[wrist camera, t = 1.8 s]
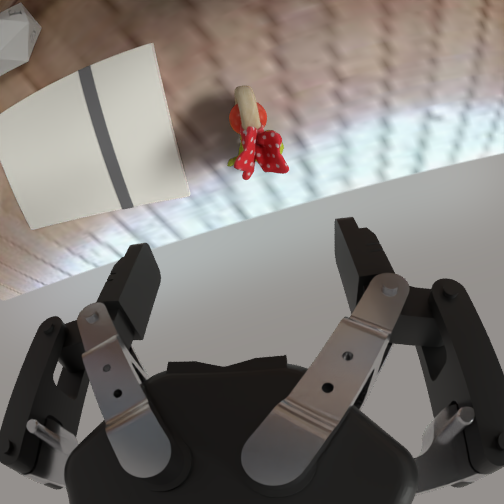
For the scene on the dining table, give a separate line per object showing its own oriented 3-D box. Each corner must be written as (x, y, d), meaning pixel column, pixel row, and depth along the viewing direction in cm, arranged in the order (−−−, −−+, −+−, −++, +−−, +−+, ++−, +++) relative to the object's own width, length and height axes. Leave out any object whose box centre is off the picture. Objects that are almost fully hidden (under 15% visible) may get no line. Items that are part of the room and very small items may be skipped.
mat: (-9, 120, 27) (-14, 122, 26) (153, 43, 25) (150, 43, 24) (34, 227, 38) (31, 230, 37) (190, 193, 35) (189, 196, 35)
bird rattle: (216, 108, 31) (233, 184, 33) (187, 80, 21) (211, 189, 23) (271, 95, 30) (289, 172, 32) (265, 60, 20) (293, 171, 22)
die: (56, 57, 24) (31, 10, 15) (-1, 101, 23) (-40, 67, 14) (40, 23, 23) (18, -21, 14) (-12, 63, 22) (-44, 28, 12)
